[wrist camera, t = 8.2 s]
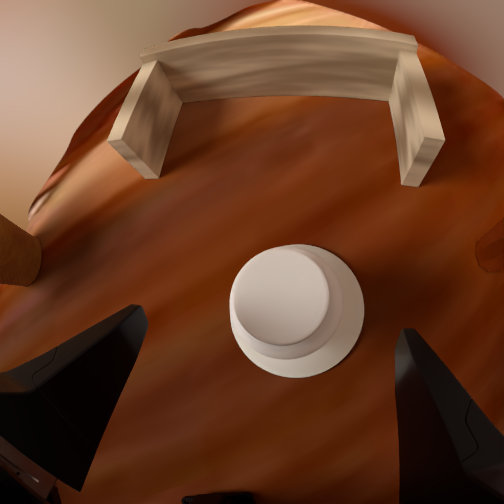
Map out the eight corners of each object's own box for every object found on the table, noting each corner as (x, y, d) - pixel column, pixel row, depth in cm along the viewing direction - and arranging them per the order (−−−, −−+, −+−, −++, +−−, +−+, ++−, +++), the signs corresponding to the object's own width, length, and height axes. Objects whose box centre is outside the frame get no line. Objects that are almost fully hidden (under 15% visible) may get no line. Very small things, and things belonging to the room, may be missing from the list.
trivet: (380, 350, 20) (381, 350, 19) (252, 392, 21) (251, 393, 20) (336, 228, 23) (336, 226, 22) (217, 270, 24) (215, 269, 23)
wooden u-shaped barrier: (418, 186, 22) (449, 131, 15) (145, 178, 28) (100, 135, 20) (400, 93, 25) (413, 35, 18) (173, 95, 31) (145, 48, 23)
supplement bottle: (349, 313, 20) (379, 296, 11) (293, 365, 20) (275, 394, 11) (296, 260, 22) (282, 203, 13) (242, 311, 22) (187, 292, 12)
